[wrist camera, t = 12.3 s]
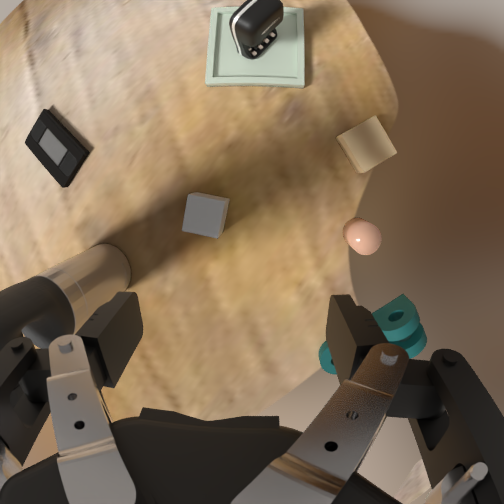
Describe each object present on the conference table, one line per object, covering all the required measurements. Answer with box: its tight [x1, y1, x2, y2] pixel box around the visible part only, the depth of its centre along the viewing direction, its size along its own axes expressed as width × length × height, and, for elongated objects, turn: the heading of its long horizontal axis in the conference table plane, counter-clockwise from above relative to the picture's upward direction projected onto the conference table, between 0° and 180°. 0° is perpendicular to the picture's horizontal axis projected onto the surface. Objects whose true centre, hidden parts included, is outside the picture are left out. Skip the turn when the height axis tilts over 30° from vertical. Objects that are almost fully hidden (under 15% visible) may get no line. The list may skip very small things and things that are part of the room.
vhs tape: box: [25, 109, 90, 188], centre depth 42 cm, size 8×14×2 cm, turn 47°
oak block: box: [336, 115, 397, 173], centre depth 39 cm, size 6×6×4 cm
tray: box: [205, 7, 304, 88], centre depth 36 cm, size 14×14×2 cm
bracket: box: [319, 294, 427, 374], centre depth 44 cm, size 18×7×8 cm, turn 123°
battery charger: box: [229, 0, 284, 60], centre depth 31 cm, size 7×4×11 cm, turn 142°
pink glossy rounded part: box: [343, 218, 382, 255], centre depth 41 cm, size 4×4×5 cm
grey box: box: [182, 192, 230, 239], centre depth 42 cm, size 5×5×5 cm
